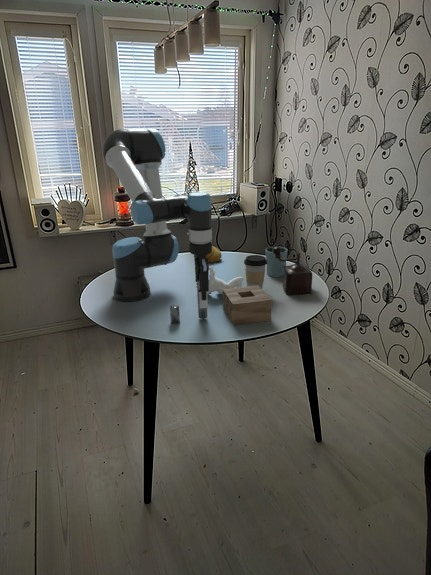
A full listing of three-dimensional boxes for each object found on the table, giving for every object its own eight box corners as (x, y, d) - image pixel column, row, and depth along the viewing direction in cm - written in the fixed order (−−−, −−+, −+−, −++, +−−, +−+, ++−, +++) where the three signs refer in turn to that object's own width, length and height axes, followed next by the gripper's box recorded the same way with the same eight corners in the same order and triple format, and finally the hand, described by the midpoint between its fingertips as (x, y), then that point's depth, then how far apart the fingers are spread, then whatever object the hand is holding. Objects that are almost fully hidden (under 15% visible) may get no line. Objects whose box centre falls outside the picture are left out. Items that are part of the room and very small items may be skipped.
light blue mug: (281, 279, 172) (282, 253, 167) (261, 275, 177) (261, 250, 172) (289, 272, 180) (290, 248, 175) (270, 269, 185) (270, 245, 180)
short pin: (170, 320, 136) (169, 305, 134) (179, 319, 137) (178, 304, 134) (171, 324, 133) (170, 309, 131) (180, 323, 134) (179, 308, 131)
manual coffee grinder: (306, 284, 165) (308, 244, 158) (311, 294, 155) (315, 252, 148) (270, 285, 165) (271, 245, 158) (273, 295, 155) (275, 253, 148)
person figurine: (240, 265, 158) (199, 263, 152) (251, 281, 148) (208, 280, 142) (233, 291, 165) (193, 290, 158) (243, 308, 155) (201, 308, 148)
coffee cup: (242, 288, 163) (242, 254, 157) (264, 287, 163) (265, 253, 158) (245, 297, 154) (245, 262, 148) (268, 295, 154) (269, 260, 149)
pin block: (222, 308, 144) (222, 289, 141) (257, 304, 147) (258, 285, 144) (233, 325, 132) (232, 304, 129) (271, 320, 134) (271, 299, 131)
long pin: (197, 315, 137) (196, 279, 132) (206, 314, 138) (205, 278, 132) (199, 319, 134) (198, 282, 129) (208, 318, 135) (207, 281, 129)
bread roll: (201, 256, 207) (201, 242, 204) (219, 255, 207) (219, 241, 204) (203, 263, 195) (203, 248, 192) (222, 262, 196) (222, 247, 193)
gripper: (185, 235, 132) (188, 297, 141) (193, 248, 117) (196, 316, 126) (206, 234, 133) (208, 295, 142) (217, 246, 119) (218, 313, 128)
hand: (202, 305), depth 134 cm, fingers closed on long pin, 3 cm apart
